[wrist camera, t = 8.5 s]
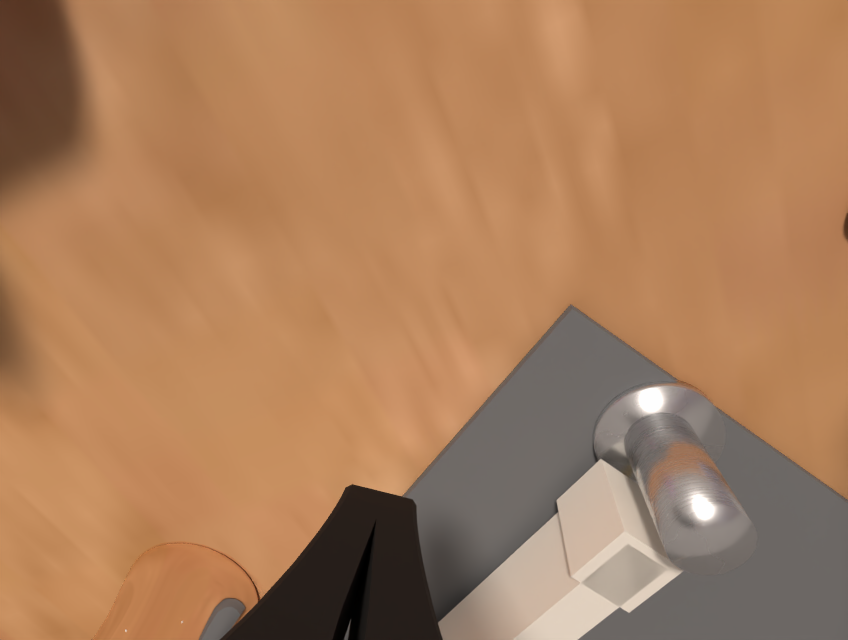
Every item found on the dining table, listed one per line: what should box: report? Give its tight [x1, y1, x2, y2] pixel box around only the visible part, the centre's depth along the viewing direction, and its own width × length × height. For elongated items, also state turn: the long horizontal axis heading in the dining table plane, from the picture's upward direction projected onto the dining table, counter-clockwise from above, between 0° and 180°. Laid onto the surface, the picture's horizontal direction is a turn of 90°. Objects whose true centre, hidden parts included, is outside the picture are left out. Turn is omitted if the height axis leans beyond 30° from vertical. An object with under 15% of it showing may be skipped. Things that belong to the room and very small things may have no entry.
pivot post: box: [593, 380, 757, 575], centre depth 18 cm, size 4×4×6 cm
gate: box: [438, 459, 683, 640], centre depth 20 cm, size 13×2×4 cm, turn 145°
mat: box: [344, 305, 848, 640], centre depth 24 cm, size 19×21×1 cm
